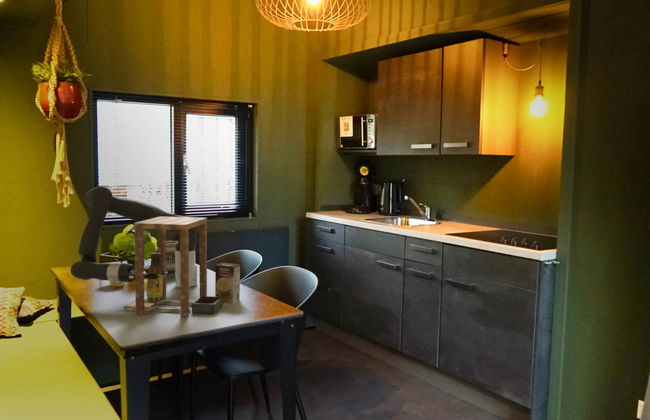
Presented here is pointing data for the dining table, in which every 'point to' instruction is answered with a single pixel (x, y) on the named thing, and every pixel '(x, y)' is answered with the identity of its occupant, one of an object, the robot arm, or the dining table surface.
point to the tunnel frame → (162, 225)
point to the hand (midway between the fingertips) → (160, 274)
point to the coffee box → (227, 282)
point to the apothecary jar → (170, 259)
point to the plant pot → (117, 284)
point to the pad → (144, 304)
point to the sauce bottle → (155, 284)
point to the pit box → (207, 305)
